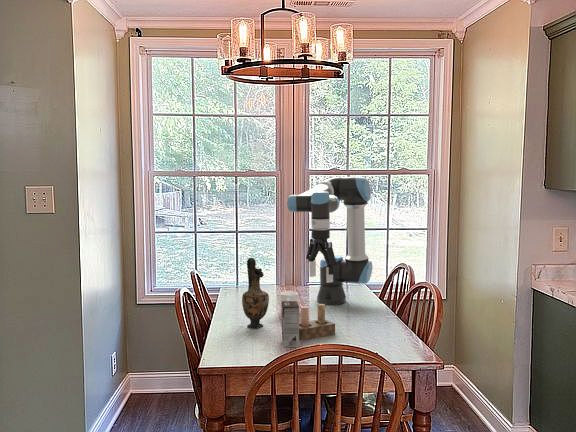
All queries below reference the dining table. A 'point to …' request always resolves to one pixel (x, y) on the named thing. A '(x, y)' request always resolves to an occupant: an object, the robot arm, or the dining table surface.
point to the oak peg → (321, 313)
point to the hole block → (316, 330)
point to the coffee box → (290, 323)
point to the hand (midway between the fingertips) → (321, 279)
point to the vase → (254, 296)
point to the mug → (288, 297)
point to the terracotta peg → (304, 316)
